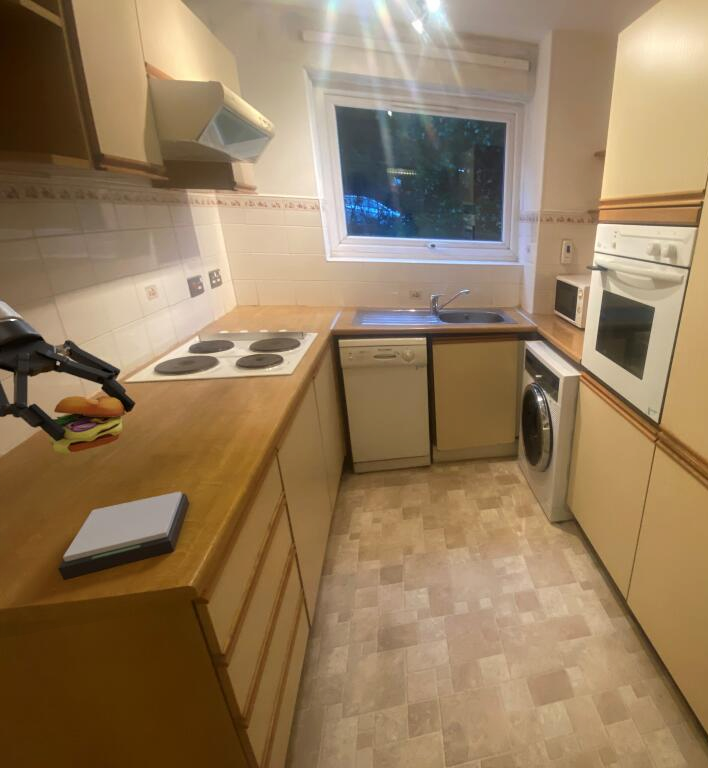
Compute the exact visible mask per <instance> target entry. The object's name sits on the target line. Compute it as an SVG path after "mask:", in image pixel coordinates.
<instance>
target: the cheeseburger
mask: <svg viewBox="0 0 708 768" xmlns="http://www.w3.org/2000/svg"><path fill="white" fill-rule="evenodd" d="M53 412H54V413H56V414H57V413H58V414H66V415H64V416H56V418H52V419H53V420H54V421H55V422H56V423H58V424H59V425H60V426H61V427H62V428H63V429H64V430H65V431H66V432H65V434H64V436H63V438H62V439H61V440H59V441H55V440H54V439H53V438H52V437H51V436H50V435H48V441H49V442H51V445H52V448H53V451H54V452H56V453H58V454H59V455H62V456H68V455H70V454H71V453H75V452H81V451H86V450H89V449H94V448H97V447H98V448H99V447H102V446H105V445H109V444H111V443H112V442H115V441H117V440H118V439H119V438H120V437H121V436H122V430H123V417H122V416H125V415H127V414H128V413H127V412H126V411H125V409H124V405H123V404H122V403H121V401H120V400H118V399H116V398H114V397H109V396H100V397H97V398H96V399H95V398H87V397H85V396H80V395H79V396H78V395H73V396H67V397H65V398H64V397H63V399H61V400H60V401H59V402H58V403H57V404H56V405H55V408H54V409H53Z"/></svg>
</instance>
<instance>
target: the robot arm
mask: <svg viewBox="0 0 708 768" xmlns="http://www.w3.org/2000/svg"><path fill="white" fill-rule="evenodd" d="M24 319H25V318H24V317H22V316H21V315H20V314H19V313H18V312H16V310H14V309H13V308H12V307H11V306H10V305H9V304H8V303H6V302H5V301H4V300H3V299H2V298H1V297H0V370H1V371H5V372H8V373H9V372H10V373H13V377H12V379H13V380H12V381H13V403H10V401H9V398H8V395H7V394H6V392H5V389H4V386H3V384H2V382H1V381H0V418H4V417H7V416H10V415H12V417H13V418H15V419H19V418H21V419H22V420H23V421H24V422H25V423H27V425H29V426H30V427H31V428H34V429H35V428H38V427H39V428H40V429H42V430H43V431H44V432H45V433H46V434H47V435H48V436H51V437H52V438H53V439H54V440H55V441H59V440H61V439H62V438H63V436H64V434H65V432H66V431H65V430H64V429H63V428H62V427H61V426H60V425H59V424H58V423H56V422H55V421H54V420H53V419H54V418H52V417H51V416H50V415H49V414H48V413H46V412H45V410H44V409H42V408H41V407H40V406H39V405H38V404H36V403H32V404H29V406H28V389H29V388H28V383H29V379H28V377H30V378H32V377H36V376H39V375H40V374H46V373H51V372H56V373H58V374H61V373H64V374H67V375H71V376H74V377H77V378H80V379H83V380H87V381H89V382H92V383H95V384H99V385H101V387H100V389H101V390H102V391H103V392H104V393H105V394H106V395H107V397H114V398H116V399H118V400H120V401H121V403H122V404H123V405H124V409H125V413H126V412H127V414H128V413H130V412H132V410H133V409H134V407H135V405H136V402H135V401H134V400H133V399H132V398H131V397H130V396H129V395H127V394H126V393H127V390H126V388H125V387H124V386H123V385H122V384H121V383H119V381H118V380H117V379H118V377H119V375H120V373H121V369H120V368H118V367H116V366H115V365H112V364H110V363H109V362H107V361H104V360H103V359H101V358H99V357H98V356H95V355H93V354H91V353H90V352H88V351H86V350H84V349H82V348H80V347H79V346H78V345H77V344H76V343H75V342H74V341H72V340H70V339H69V340H68V339H67V340H65V341H64V343H63V344H57V345H53V344H51V343H48V342H47V341H46V339H44V337H43V335H42V334H41V333H39V331H37V330H36V329H35V328H34V327H33V326H32V325H31V324H29V323H28V322H27V321H26V320H24ZM58 363H59V364H58Z"/></svg>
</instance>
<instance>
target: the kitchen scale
mask: <svg viewBox="0 0 708 768" xmlns="http://www.w3.org/2000/svg"><path fill="white" fill-rule="evenodd" d="M187 495H188V494H187V493H182V491H175V492H170V493H167V494H162V495H157V496H156V495H155V496H152V497H147V498H144V499H138V500H133V501H129V502H124V503H123V502H122V503H119V504H114V505H109V506H105V507H100V508H96V509H92V510H91V512H90V514H89V515H88V517H86V520H85V521H84V523H83V524H82V526H81V527H80V529H79V530H78V532H77V534H76V536H75V537H74V539H73V540H72V542H71V543H70V545H69V547H68V548H67V550H66V551H65V552H64V554H63V556H62V561H61V562H60V564H59V565H58V567H57V570H58V571H59V573H60V576H61V577H62V579H63V580H68V579H73V578H76V577H80V576H84V575H89V574H91V573H97V572H99V571H103V570H108V569H112V568H115V567H118V566H124V565H128V564H131V563H135V562H139V561H143V560H146V559H149V558H153V557H158V556H162V555H165V554H169V553H173V552H174V551H175V549H176V547H177V542H178V539H179V537H180V535H181V534H180V533H181V531H182V527H183V524H184V522H185V519H186V515H187V512H188V509H189V506H190V501H189V498H188V496H187Z"/></svg>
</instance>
